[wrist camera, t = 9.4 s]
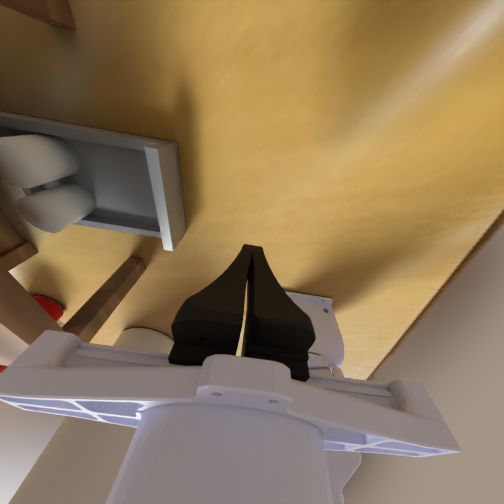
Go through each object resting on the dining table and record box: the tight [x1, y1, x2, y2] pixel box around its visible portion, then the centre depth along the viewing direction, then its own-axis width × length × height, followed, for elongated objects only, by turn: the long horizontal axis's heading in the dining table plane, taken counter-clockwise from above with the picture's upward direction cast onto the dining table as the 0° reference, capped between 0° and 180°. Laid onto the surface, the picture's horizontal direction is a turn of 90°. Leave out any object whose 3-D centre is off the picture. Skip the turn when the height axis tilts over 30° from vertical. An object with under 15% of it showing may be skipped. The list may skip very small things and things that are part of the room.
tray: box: [0, 111, 186, 251], centre depth 18 cm, size 16×10×5 cm, turn 82°
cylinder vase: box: [9, 328, 174, 504], centre depth 32 cm, size 12×12×25 cm
